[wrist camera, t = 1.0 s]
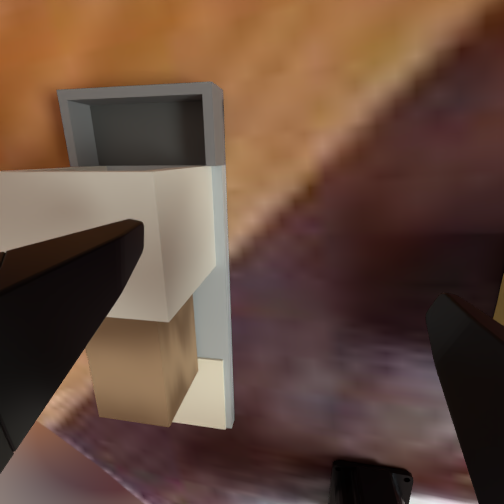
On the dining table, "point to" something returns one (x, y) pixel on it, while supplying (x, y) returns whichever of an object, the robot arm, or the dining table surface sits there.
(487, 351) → the robot arm
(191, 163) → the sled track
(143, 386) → the walnut block
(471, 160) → the dining table surface
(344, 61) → the dining table surface
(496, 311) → the cheese
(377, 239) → the dining table surface
